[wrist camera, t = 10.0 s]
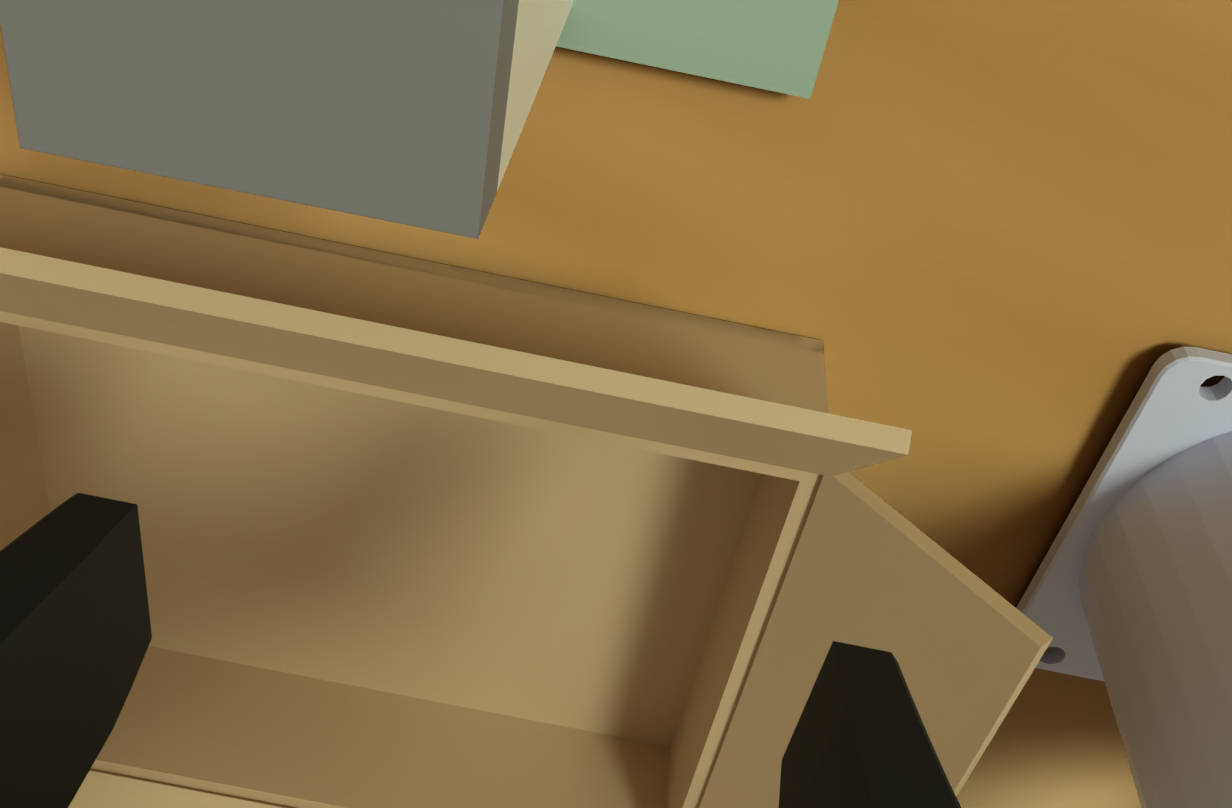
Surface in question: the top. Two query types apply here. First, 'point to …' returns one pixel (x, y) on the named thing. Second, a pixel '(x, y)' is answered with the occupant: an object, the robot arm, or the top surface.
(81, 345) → the carton
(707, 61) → the pad
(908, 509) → the top surface
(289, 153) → the block
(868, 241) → the top surface
